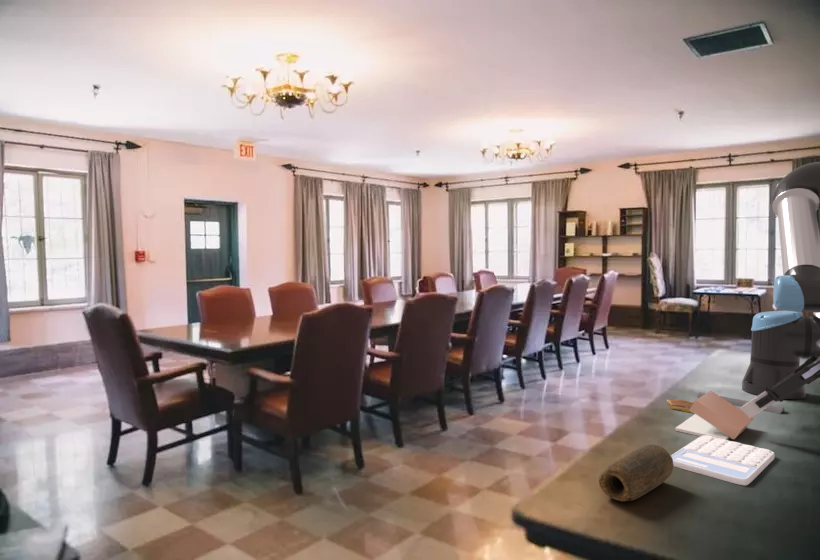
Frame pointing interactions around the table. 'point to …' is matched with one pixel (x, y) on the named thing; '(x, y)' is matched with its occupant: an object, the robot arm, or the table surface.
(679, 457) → the calculator
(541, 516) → the table surface
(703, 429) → the white rectangular slab
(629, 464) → the stone weight
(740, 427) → the terracotta tile
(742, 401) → the gray half cylinder
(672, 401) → the shard
